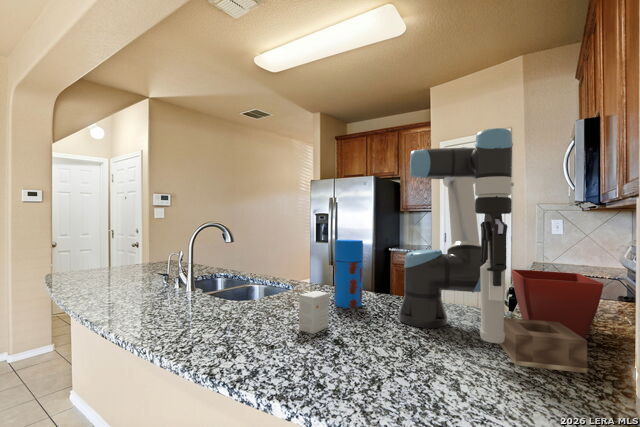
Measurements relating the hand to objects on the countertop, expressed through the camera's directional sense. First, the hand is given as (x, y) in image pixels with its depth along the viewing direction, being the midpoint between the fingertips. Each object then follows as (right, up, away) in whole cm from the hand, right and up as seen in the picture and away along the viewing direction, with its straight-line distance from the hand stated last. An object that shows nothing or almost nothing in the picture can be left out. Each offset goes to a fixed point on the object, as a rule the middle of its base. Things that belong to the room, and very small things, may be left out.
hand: (492, 296), depth 77 cm
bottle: (0, -10, 0) cm, 10 cm away
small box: (-42, -15, +22) cm, 50 cm away
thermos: (-29, -16, +52) cm, 62 cm away
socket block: (+13, -16, +4) cm, 21 cm away
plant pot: (+31, -17, +24) cm, 43 cm away
